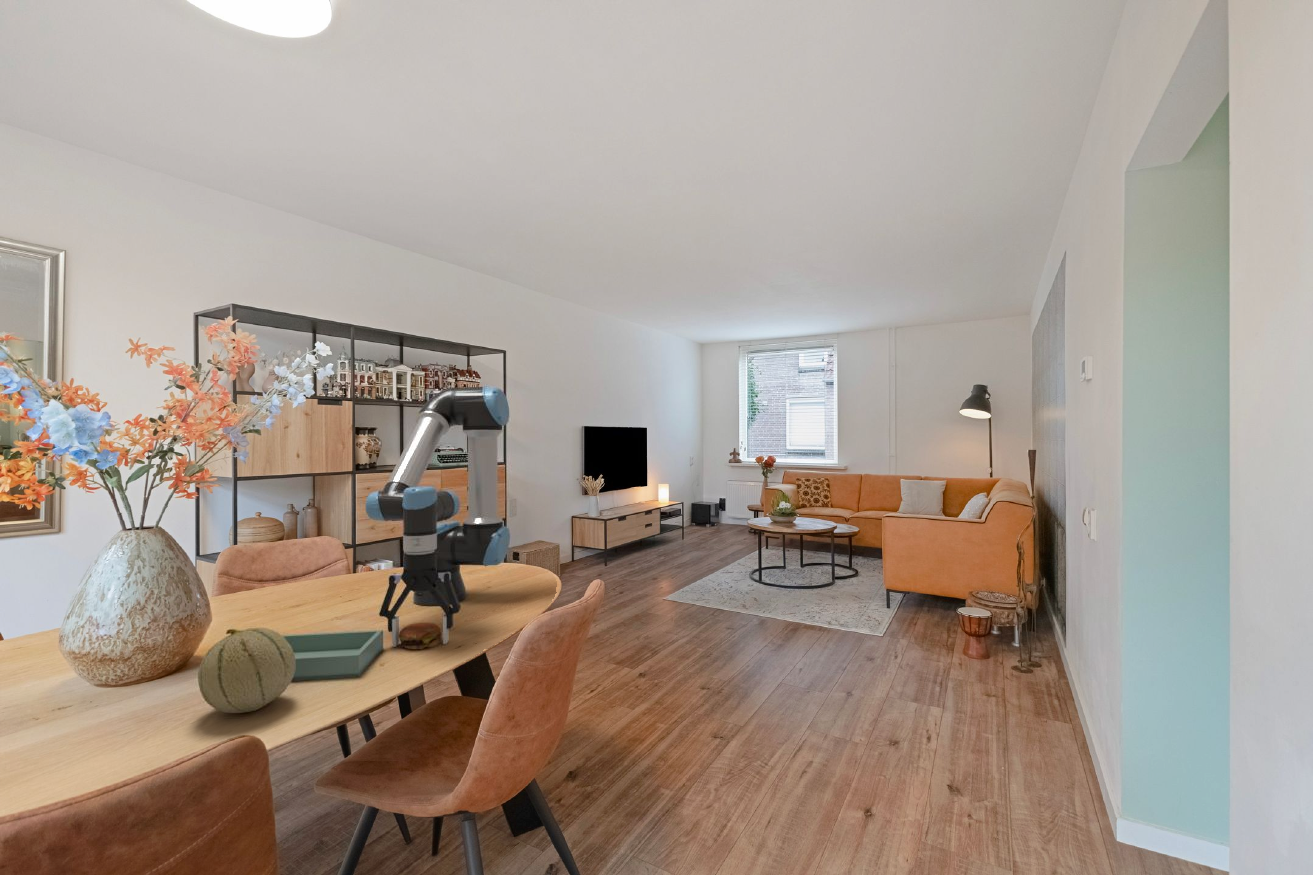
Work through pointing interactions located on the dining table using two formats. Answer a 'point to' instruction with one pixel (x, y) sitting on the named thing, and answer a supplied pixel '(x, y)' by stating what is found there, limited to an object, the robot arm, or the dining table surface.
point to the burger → (420, 635)
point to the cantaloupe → (246, 670)
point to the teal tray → (334, 653)
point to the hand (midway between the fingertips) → (420, 643)
